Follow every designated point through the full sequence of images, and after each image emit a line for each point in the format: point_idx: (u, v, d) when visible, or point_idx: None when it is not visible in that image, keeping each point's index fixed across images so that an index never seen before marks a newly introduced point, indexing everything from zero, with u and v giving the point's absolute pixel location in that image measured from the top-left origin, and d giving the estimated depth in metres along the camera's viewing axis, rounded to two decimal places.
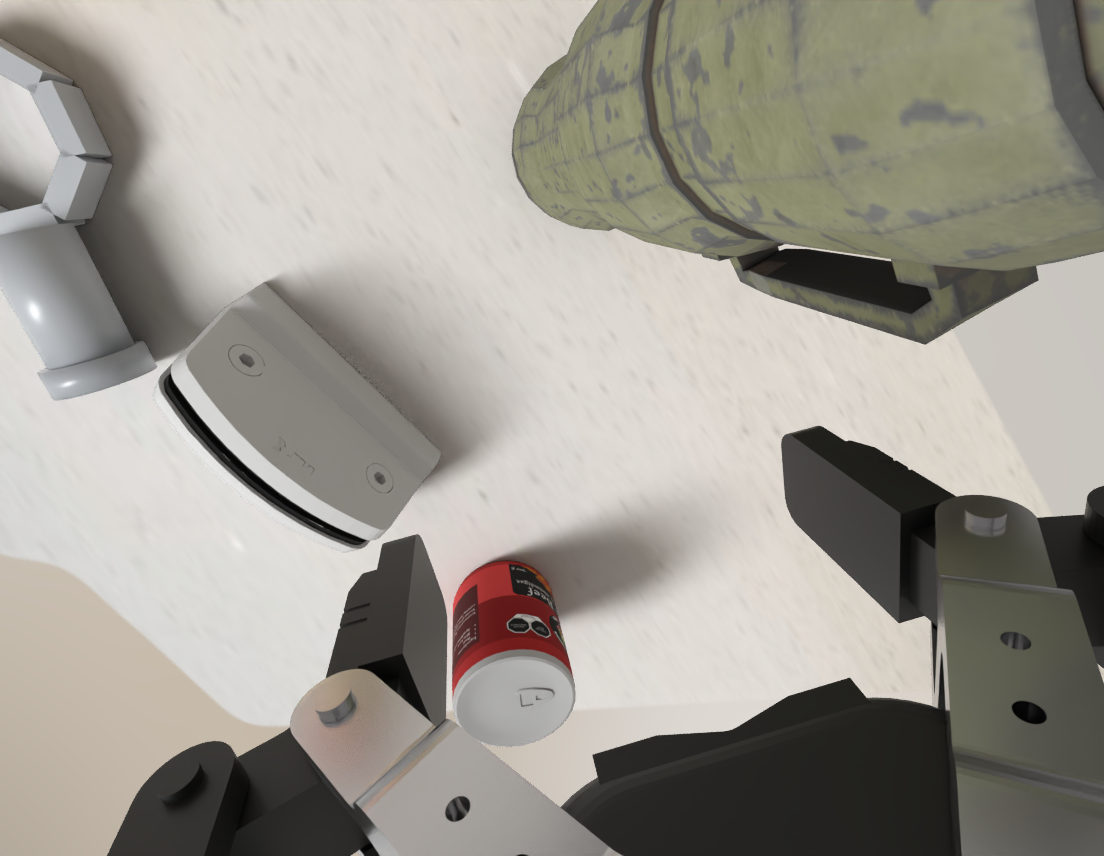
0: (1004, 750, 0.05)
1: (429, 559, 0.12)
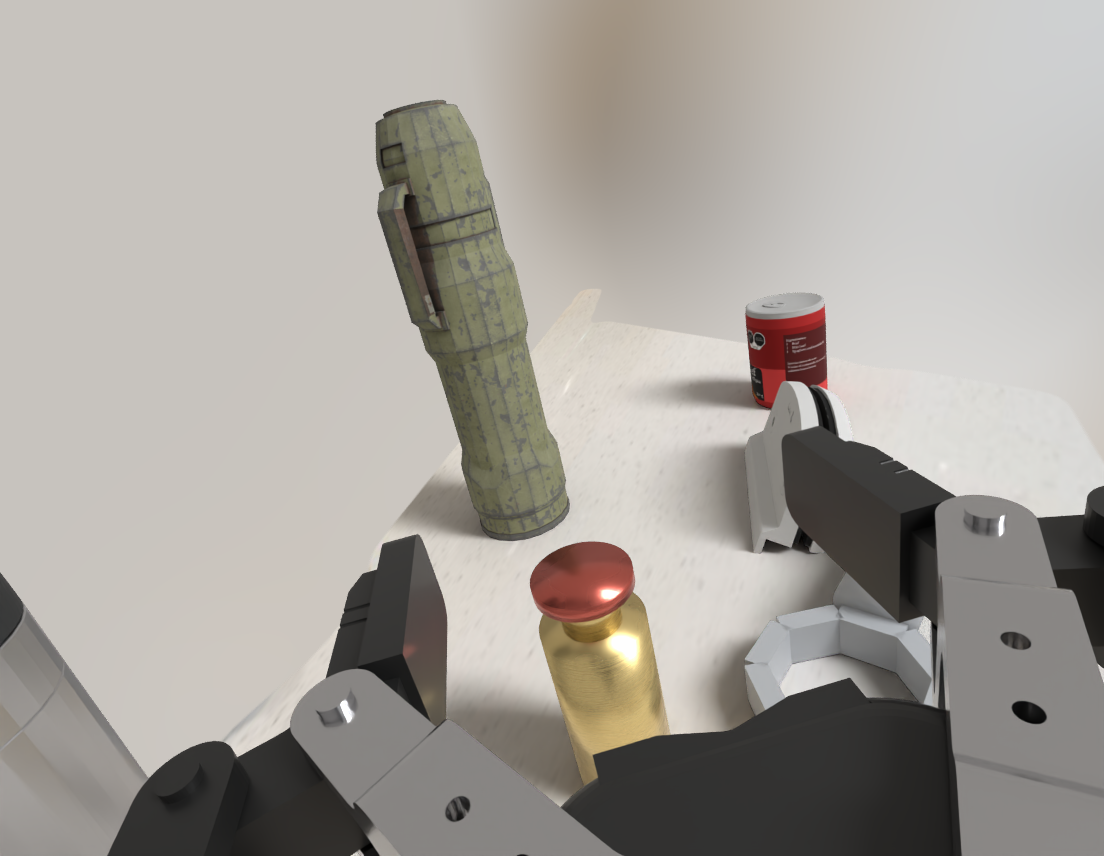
0: (1004, 750, 0.05)
1: (429, 559, 0.12)
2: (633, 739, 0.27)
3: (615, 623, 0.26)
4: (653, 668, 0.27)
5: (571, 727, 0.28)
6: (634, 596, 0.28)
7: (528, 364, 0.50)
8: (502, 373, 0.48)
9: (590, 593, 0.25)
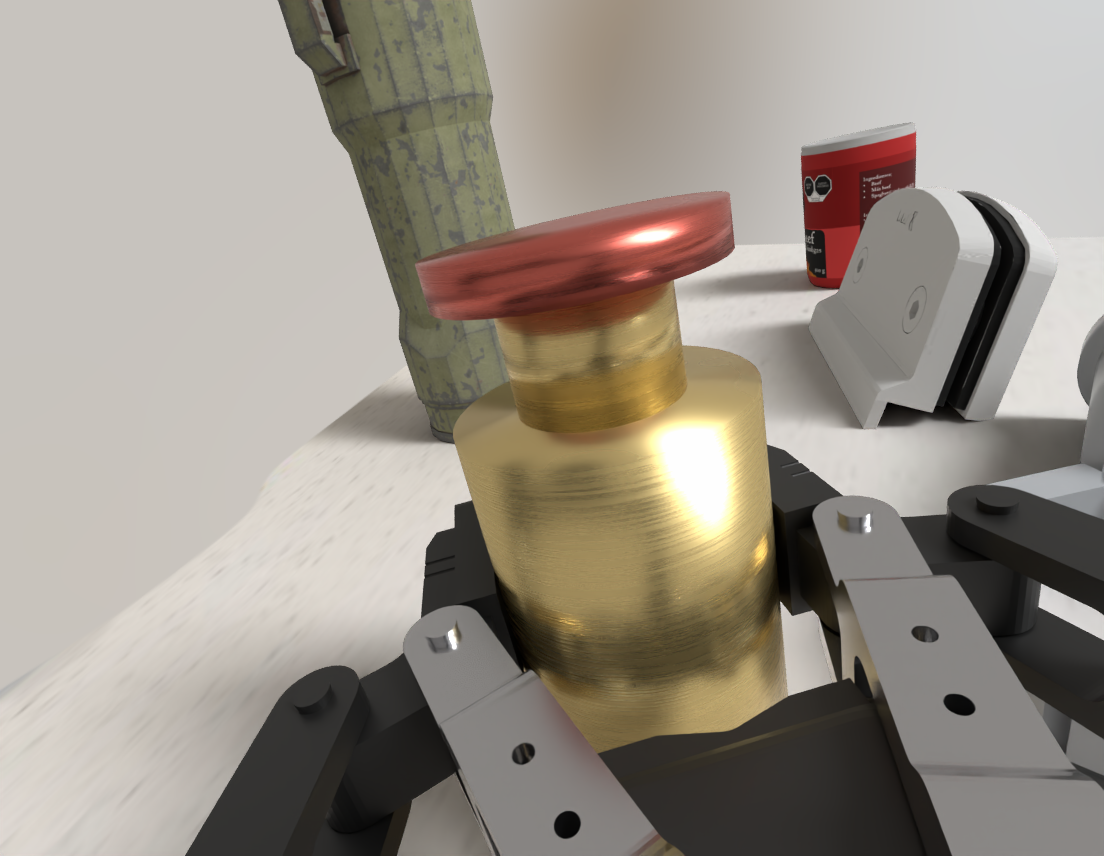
0: (952, 750, 0.05)
1: None
2: (722, 730, 0.10)
3: (672, 377, 0.09)
4: (772, 529, 0.10)
5: None
6: (710, 352, 0.11)
7: (494, 160, 0.32)
8: (450, 159, 0.30)
9: (600, 229, 0.07)
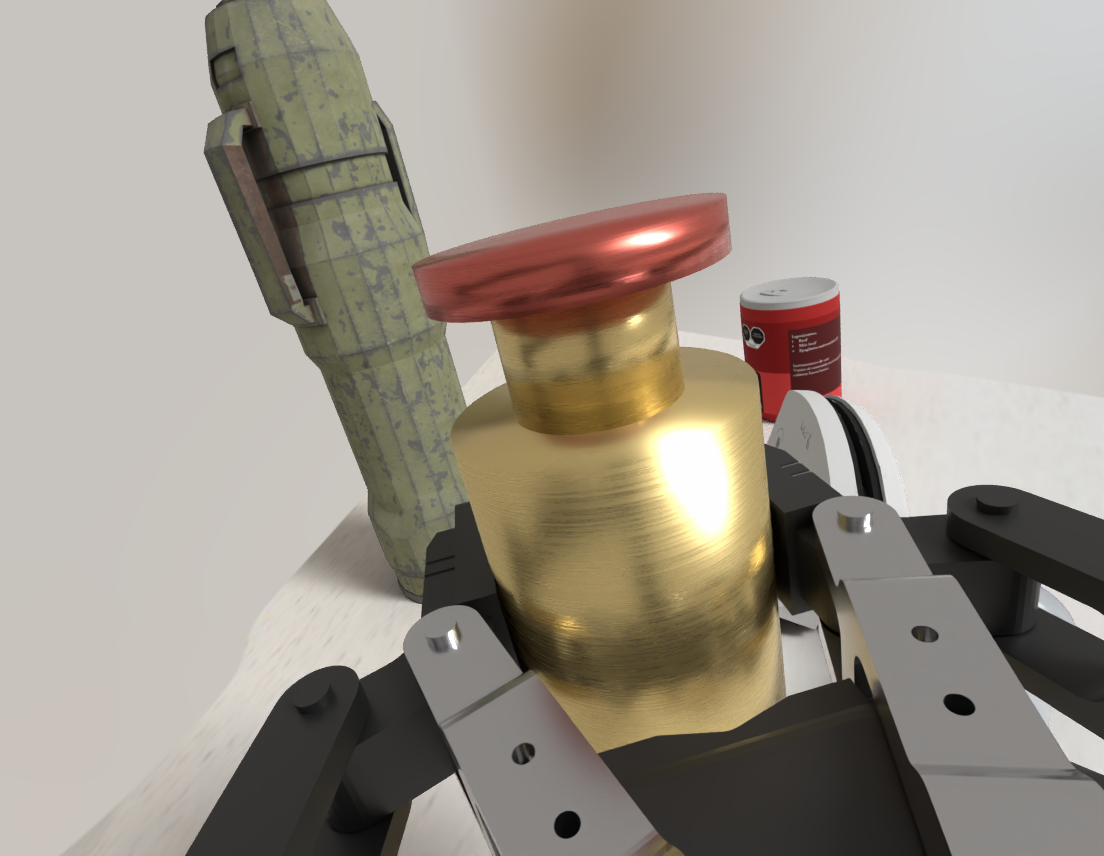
0: (952, 750, 0.05)
1: None
2: None
3: (670, 379, 0.09)
4: (770, 531, 0.10)
5: None
6: (707, 353, 0.11)
7: (448, 371, 0.37)
8: (407, 384, 0.34)
9: (596, 231, 0.07)
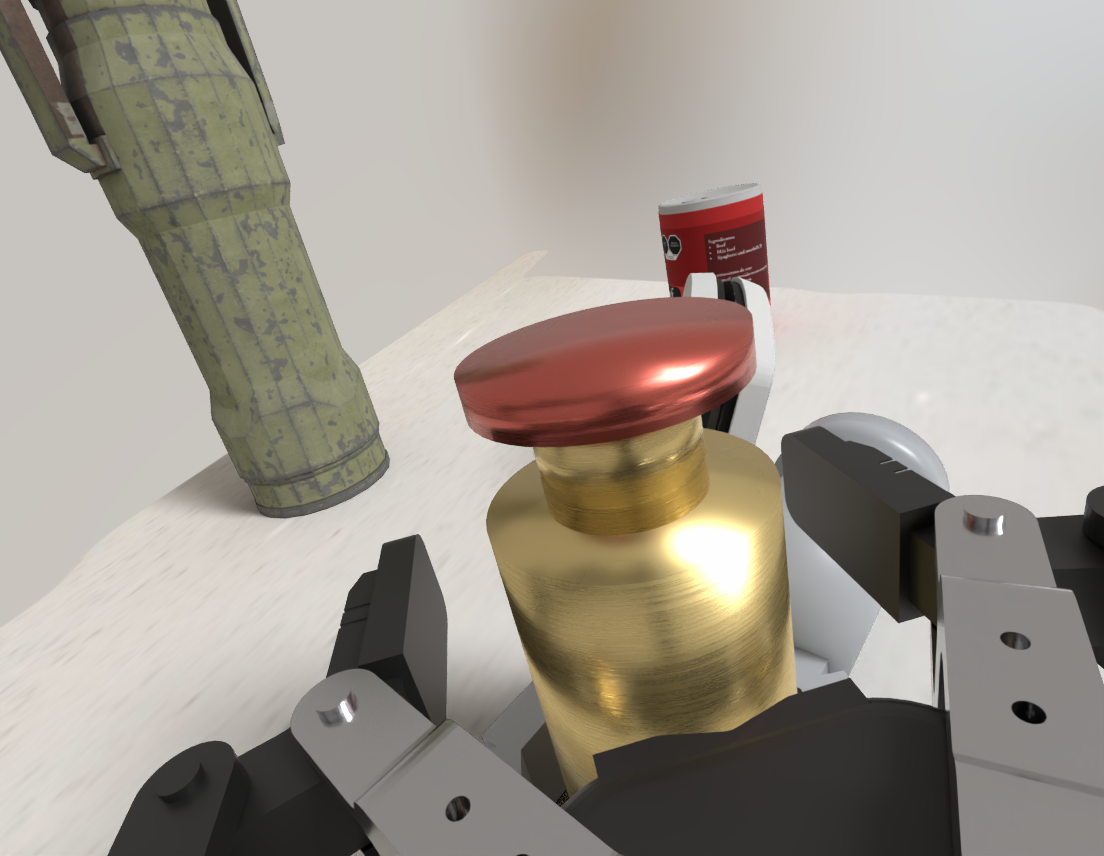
0: (1004, 750, 0.05)
1: (429, 559, 0.12)
2: None
3: (697, 481, 0.09)
4: (790, 615, 0.10)
5: (573, 773, 0.11)
6: (729, 439, 0.11)
7: (287, 244, 0.33)
8: (228, 249, 0.30)
9: (633, 361, 0.08)
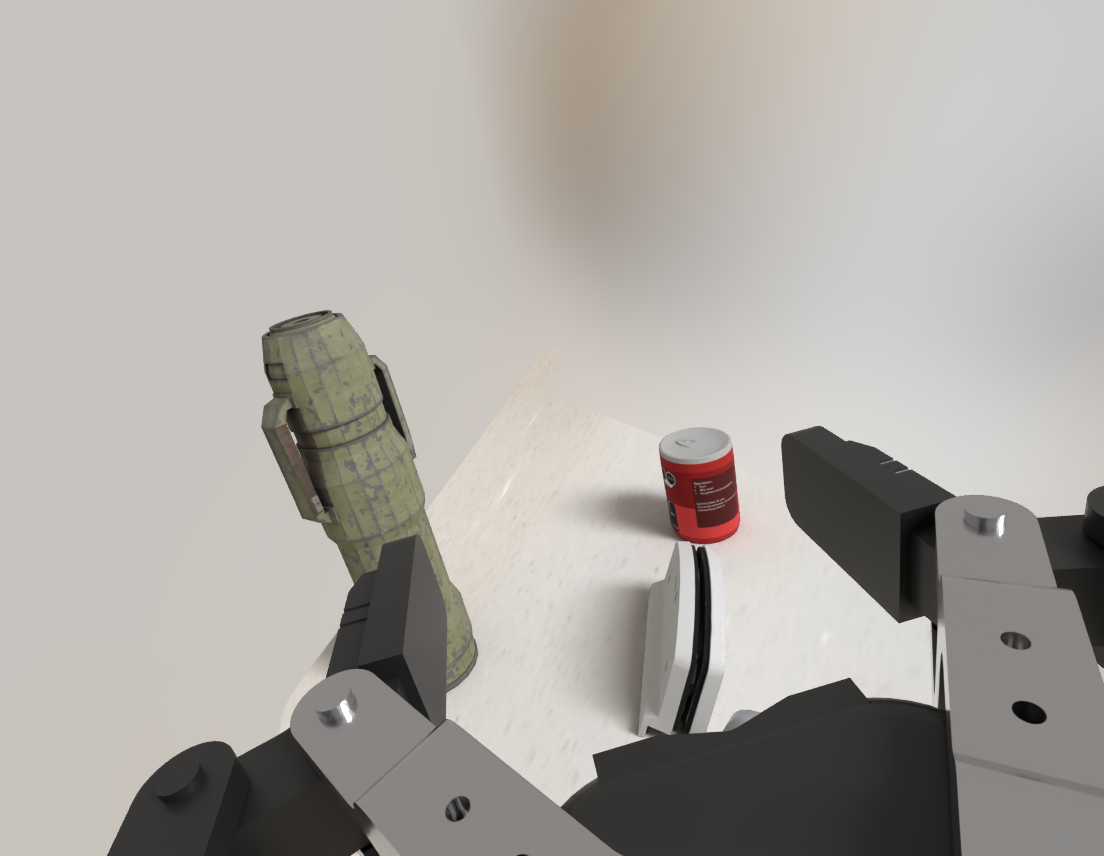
0: (1004, 750, 0.05)
1: (429, 559, 0.12)
2: None
3: None
4: None
5: None
6: None
7: (425, 539, 0.52)
8: None
9: None
